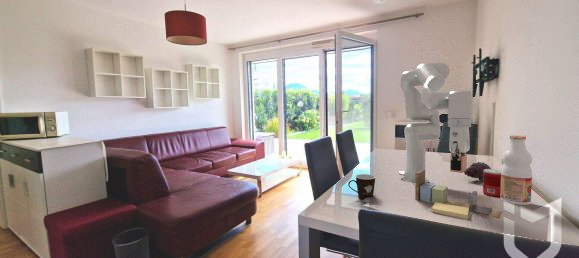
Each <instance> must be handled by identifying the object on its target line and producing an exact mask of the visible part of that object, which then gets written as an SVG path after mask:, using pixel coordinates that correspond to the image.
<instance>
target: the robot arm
mask: <svg viewBox="0 0 579 258" xmlns="http://www.w3.org/2000/svg"><path fill="white" fill-rule="evenodd" d="M449 76H450V67H449V65H448V64H447V63H445V62H441V61H440V62H424V63H420V64H419V65H418V66H417V67H416V68H415V69H410V70H407V71H404V72H403V73H402V74H401V76H400V81H399V82H400V84H399V85H400V88H401V91H402V94H403V97H404V104H405V105H404V107H405V108H404V110H405V116H406V119H407V121H410V122H417V123H409V124H407V125H406V126H405V127H404V138H405V145H406V146H405V151H406V152H405V154H406V155H405V171H401V170H399V171H398V174H399V176H403V177H402V180H403V182H407V183H412V184H415V175H416V173H417V172H419V171H421V170H425V171H426V155H427V153H426V147H425V145H424V144H423V143H422V142H424V141H425V142H427V141H430V142H432V141H437V140H439V138H440V137H441V131H442V130H441V122H440V112H439V111H445V110H446V111H447V127H449V128H450V130H449V139H448V140H449V143H448V144H449V152H450V153H451V155H450V156H451V170H456V171H460V170H461V160H460V156H461V154H462V155H467V152H469V151H470V149H471V145H470V128H471V127H472V105H473V104H472V102H473V101H472V99H473V98H472V97H473V96H472V92H471V90H466V89H465V90H464V89H463V90H452V91H451V90H450V91H441V89H442V88H443V87H444V86H445V82H446V79H447V78H448V77H449ZM416 87H421V91H420V90H419V89H418V88H416ZM439 90H440V91H439ZM423 122H424V123H423ZM457 154H458V155H457ZM429 181H430V180H429V179H428V178H427V177H425V183H429Z"/></svg>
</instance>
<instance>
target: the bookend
mask: <svg viewBox="0 0 579 258" xmlns="http://www.w3.org/2000/svg"><path fill="white" fill-rule="evenodd" d="M468 204H469V211H470V212H475V213H474V214H477V213H479V214H478V215H481V214H484V215H483V216H486V215H488V216H487V217H490V216H489V214H490V213H491V211H492V209H493V208H492V207H487V206H481V205H478V191H476V190H472V192H471V193H469V195H468Z"/></svg>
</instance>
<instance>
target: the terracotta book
mask: <svg viewBox="0 0 579 258" xmlns="http://www.w3.org/2000/svg"><path fill="white" fill-rule="evenodd" d="M457 155H458V154H457ZM449 158H450V160H449V161H450V164H449V165H450V167H449V171H450V172H451V173H459V174H464V171H466V169H467V163H468V161H467V160H468V156H467V154H466V155H462V154H461V156H460V160H461V170H460V171H456V170H451V155H450V157H449Z"/></svg>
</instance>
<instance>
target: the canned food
mask: <svg viewBox="0 0 579 258" xmlns="http://www.w3.org/2000/svg"><path fill="white" fill-rule="evenodd" d="M501 170H502V169H495V168H491V169H485V170H484V171H483V181H482V193H483V194H484V195H485V196H488V197H492V198H500V194H501Z"/></svg>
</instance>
